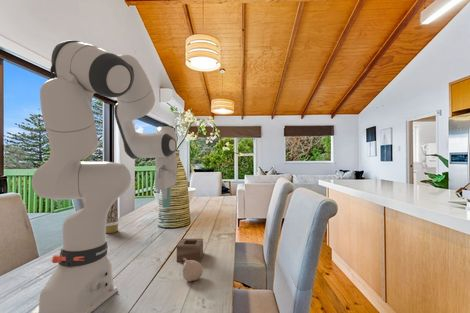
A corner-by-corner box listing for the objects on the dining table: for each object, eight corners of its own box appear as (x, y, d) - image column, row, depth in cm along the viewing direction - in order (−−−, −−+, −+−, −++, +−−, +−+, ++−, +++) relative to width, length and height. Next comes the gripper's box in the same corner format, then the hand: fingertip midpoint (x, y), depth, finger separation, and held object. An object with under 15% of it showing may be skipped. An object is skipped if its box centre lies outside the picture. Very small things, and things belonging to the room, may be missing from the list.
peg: (169, 207, 107) (169, 183, 107) (161, 207, 107) (161, 183, 107) (171, 205, 110) (171, 182, 110) (163, 206, 110) (163, 182, 110)
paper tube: (112, 234, 135) (112, 186, 135) (101, 233, 136) (100, 186, 136) (120, 230, 142) (120, 185, 142) (109, 229, 143) (109, 184, 143)
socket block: (200, 261, 99) (200, 246, 99) (176, 261, 99) (176, 246, 98) (203, 252, 108) (202, 238, 108) (181, 253, 108) (181, 238, 108)
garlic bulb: (185, 275, 87) (185, 251, 87) (204, 275, 87) (203, 251, 87) (180, 285, 81) (180, 259, 81) (200, 285, 81) (200, 259, 81)
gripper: (167, 166, 99) (167, 202, 98) (178, 164, 119) (179, 194, 119) (150, 166, 99) (151, 202, 98) (165, 164, 119) (165, 194, 119)
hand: (166, 198), depth 109 cm, fingers closed on peg, 3 cm apart
